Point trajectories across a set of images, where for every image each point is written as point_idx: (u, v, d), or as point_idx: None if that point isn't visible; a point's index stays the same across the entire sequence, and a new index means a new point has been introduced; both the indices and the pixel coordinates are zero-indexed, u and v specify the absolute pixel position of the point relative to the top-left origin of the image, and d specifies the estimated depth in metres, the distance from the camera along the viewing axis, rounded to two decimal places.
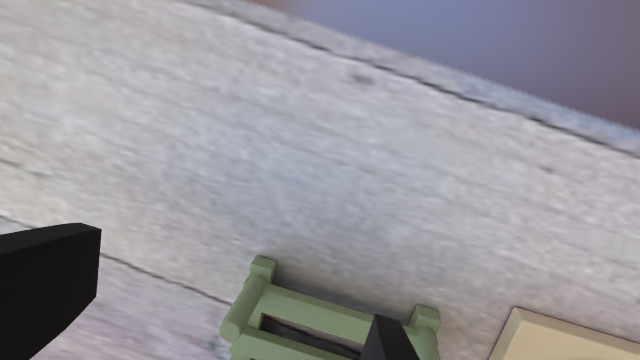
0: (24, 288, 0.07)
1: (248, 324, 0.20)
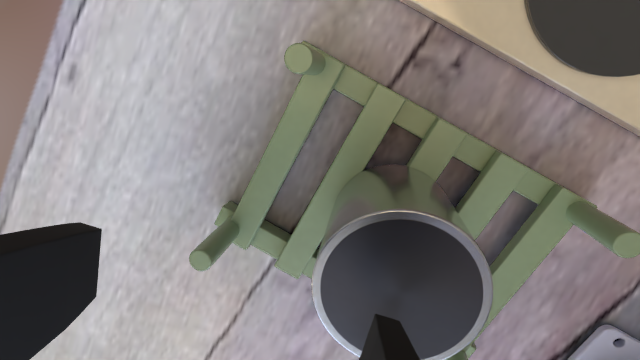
0: (24, 288, 0.07)
1: (280, 250, 0.19)
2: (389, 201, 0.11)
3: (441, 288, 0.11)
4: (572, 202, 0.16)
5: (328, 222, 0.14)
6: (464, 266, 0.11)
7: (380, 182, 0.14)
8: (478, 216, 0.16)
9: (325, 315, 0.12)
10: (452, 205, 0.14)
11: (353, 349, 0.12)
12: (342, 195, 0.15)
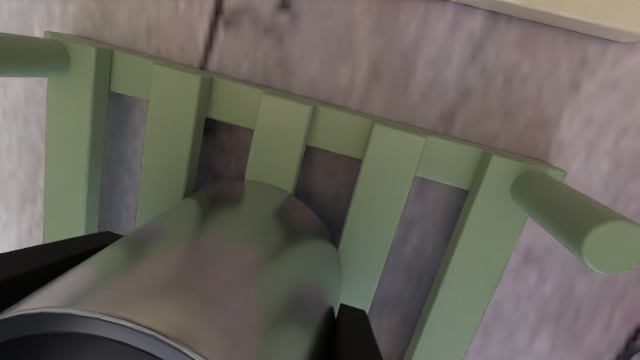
0: None
1: None
2: (48, 286, 0.05)
3: None
4: (515, 176, 0.09)
5: None
6: None
7: (137, 228, 0.08)
8: (374, 233, 0.10)
9: None
10: (277, 238, 0.08)
11: None
12: None
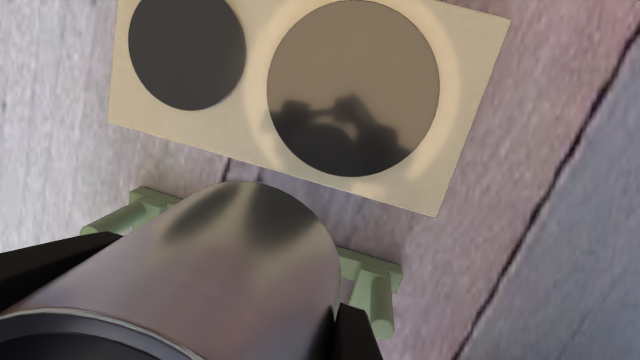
0: None
1: None
2: (47, 287, 0.05)
3: None
4: (371, 279, 0.18)
5: None
6: None
7: (137, 228, 0.08)
8: None
9: None
10: (276, 238, 0.08)
11: None
12: None
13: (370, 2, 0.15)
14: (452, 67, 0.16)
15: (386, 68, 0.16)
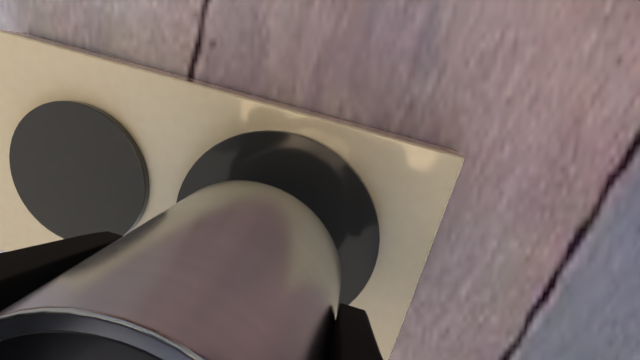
0: None
1: None
2: (48, 285, 0.05)
3: None
4: None
5: None
6: None
7: (137, 228, 0.08)
8: None
9: None
10: (276, 238, 0.08)
11: None
12: None
13: (290, 135, 0.12)
14: (394, 208, 0.13)
15: (314, 209, 0.13)
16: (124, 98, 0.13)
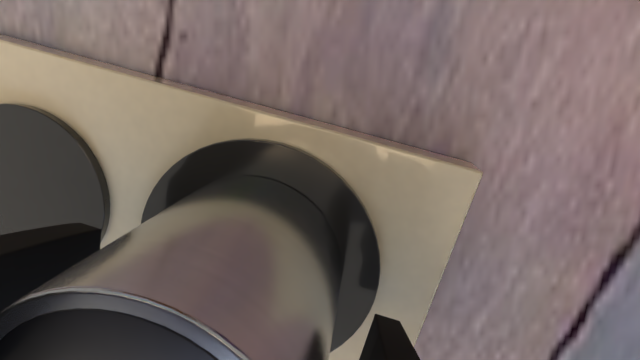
0: (24, 288, 0.07)
1: None
2: (71, 270, 0.06)
3: None
4: None
5: None
6: None
7: (149, 219, 0.08)
8: None
9: None
10: (281, 229, 0.08)
11: None
12: None
13: (273, 144, 0.10)
14: (398, 232, 0.11)
15: None
16: (77, 100, 0.11)
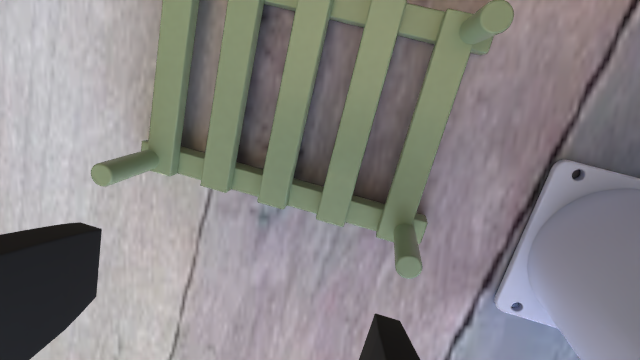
0: (24, 288, 0.07)
1: None
2: None
3: None
4: (462, 21, 0.14)
5: None
6: None
7: None
8: (374, 69, 0.15)
9: None
10: None
11: None
12: None
13: None
14: None
15: None
16: None
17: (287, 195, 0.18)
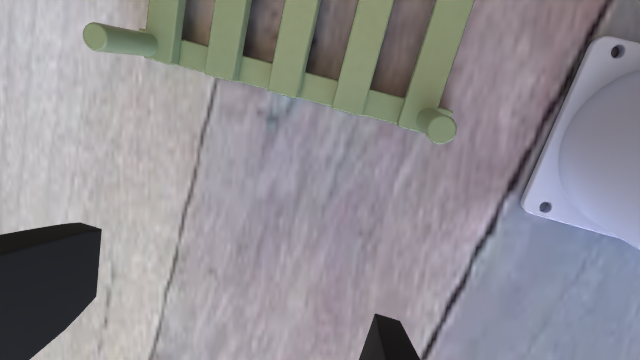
0: (24, 288, 0.07)
1: None
2: None
3: None
4: None
5: None
6: None
7: None
8: None
9: None
10: None
11: None
12: None
13: None
14: None
15: None
16: None
17: (300, 82, 0.16)
